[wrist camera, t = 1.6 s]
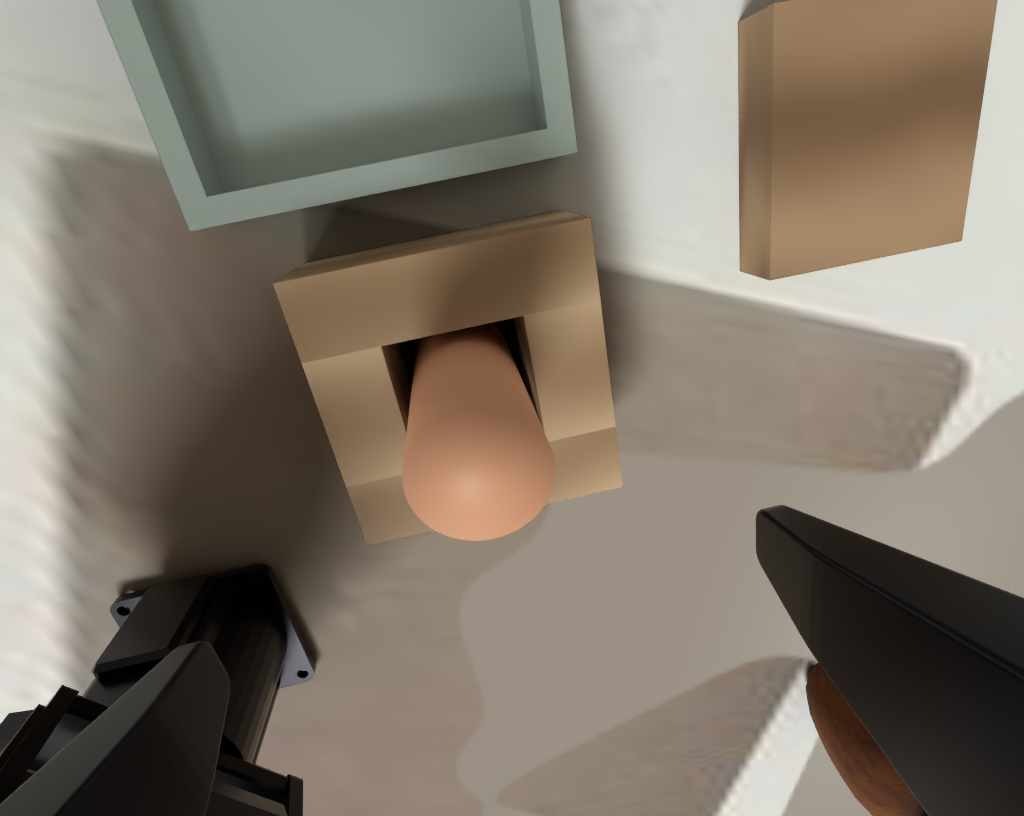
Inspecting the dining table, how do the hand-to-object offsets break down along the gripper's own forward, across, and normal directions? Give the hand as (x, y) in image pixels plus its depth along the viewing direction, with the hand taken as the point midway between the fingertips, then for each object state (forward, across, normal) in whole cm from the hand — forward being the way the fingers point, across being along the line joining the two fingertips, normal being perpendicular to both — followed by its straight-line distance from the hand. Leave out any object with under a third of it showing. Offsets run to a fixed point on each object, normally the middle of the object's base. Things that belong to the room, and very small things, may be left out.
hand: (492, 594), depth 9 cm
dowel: (+13, 0, 0) cm, 13 cm away
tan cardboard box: (+14, -14, -5) cm, 20 cm away
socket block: (+13, 0, 0) cm, 13 cm away
